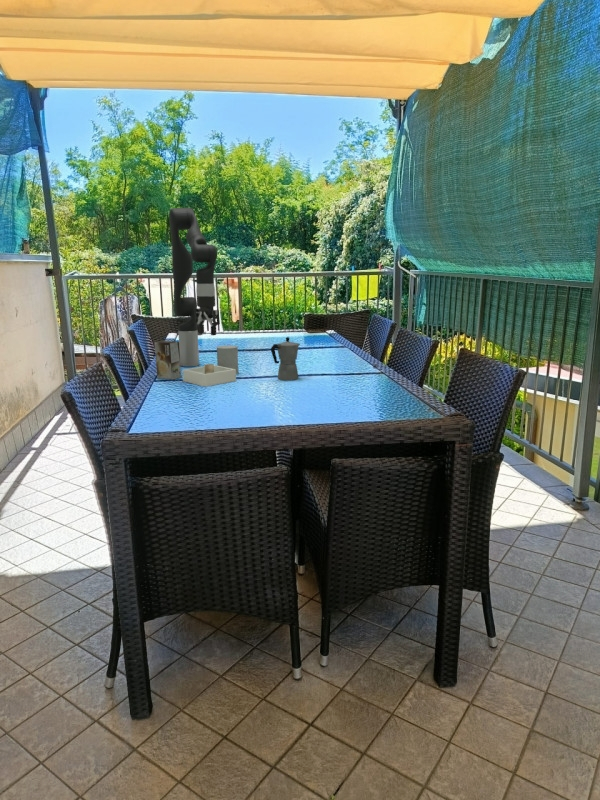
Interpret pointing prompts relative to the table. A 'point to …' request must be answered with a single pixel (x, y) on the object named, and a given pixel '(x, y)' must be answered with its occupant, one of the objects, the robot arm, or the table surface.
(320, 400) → the table surface
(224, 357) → the gray cylinder
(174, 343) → the coffee box
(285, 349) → the coffeepot
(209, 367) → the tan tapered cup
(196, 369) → the box
